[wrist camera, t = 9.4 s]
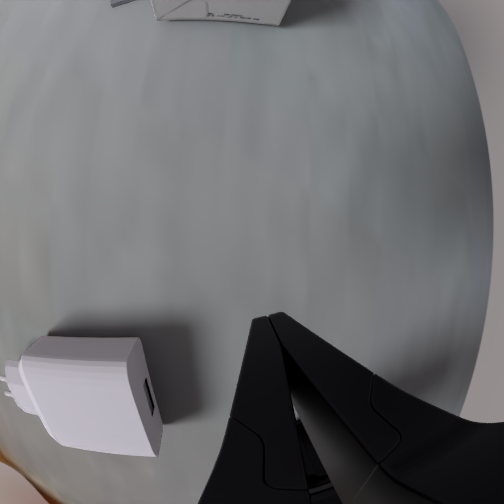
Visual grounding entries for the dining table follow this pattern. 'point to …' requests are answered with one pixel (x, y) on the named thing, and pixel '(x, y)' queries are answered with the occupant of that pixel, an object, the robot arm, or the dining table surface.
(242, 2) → the coffee box
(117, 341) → the charger
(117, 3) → the mat
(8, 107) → the dining table surface
